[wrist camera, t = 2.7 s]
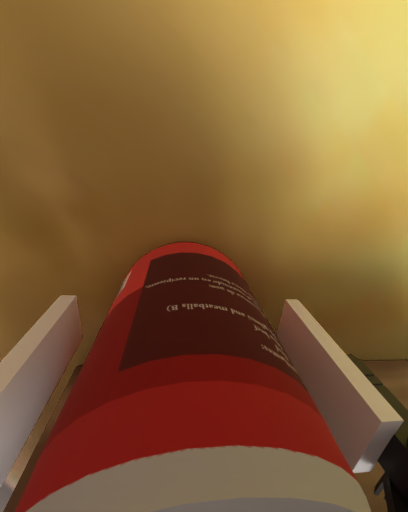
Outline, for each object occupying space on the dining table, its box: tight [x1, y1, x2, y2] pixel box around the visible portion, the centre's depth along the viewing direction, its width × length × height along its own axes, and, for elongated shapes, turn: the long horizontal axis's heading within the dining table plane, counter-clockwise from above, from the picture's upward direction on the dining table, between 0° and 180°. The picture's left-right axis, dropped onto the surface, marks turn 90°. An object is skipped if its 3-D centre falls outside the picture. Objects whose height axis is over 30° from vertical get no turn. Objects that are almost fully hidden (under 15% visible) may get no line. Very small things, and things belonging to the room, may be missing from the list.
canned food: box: [14, 242, 371, 512], centre depth 9 cm, size 8×8×11 cm
